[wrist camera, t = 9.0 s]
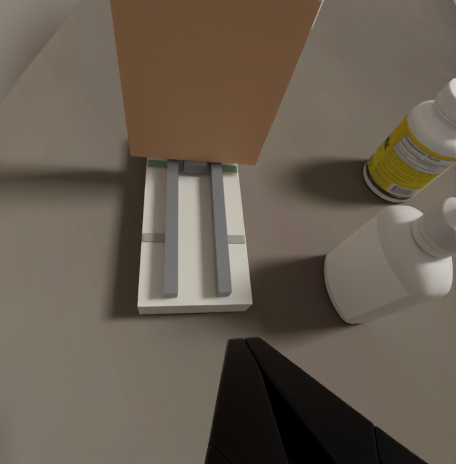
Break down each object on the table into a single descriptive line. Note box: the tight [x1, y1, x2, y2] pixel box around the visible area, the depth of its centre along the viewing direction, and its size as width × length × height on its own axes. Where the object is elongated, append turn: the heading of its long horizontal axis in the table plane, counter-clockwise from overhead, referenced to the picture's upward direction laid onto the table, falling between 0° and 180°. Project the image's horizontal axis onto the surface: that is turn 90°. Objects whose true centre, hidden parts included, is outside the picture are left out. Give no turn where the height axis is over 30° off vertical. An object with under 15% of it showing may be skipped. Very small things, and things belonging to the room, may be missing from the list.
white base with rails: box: [137, 157, 253, 314], centre depth 22 cm, size 15×7×3 cm, turn 4°
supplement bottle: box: [363, 78, 456, 202], centre depth 25 cm, size 5×5×10 cm
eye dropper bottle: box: [324, 197, 456, 324], centre depth 18 cm, size 4×6×12 cm
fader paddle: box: [110, 0, 323, 175], centre depth 18 cm, size 2×9×13 cm, turn 94°
